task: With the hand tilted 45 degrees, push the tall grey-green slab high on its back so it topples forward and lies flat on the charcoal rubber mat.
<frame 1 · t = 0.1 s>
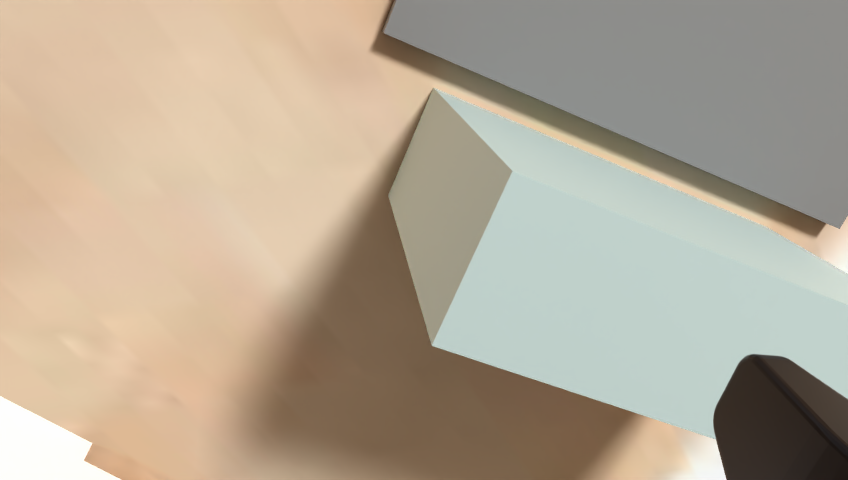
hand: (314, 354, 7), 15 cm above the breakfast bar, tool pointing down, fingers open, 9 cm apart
grey-green slab: (583, 210, 24), on the breakfast bar
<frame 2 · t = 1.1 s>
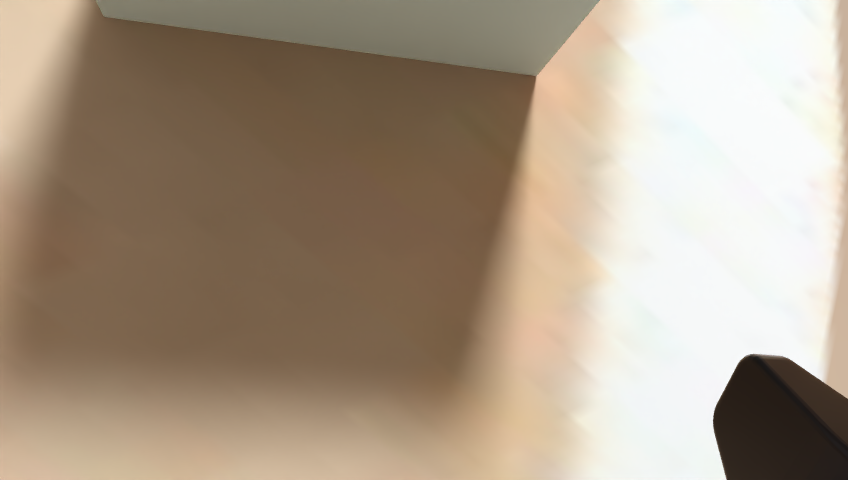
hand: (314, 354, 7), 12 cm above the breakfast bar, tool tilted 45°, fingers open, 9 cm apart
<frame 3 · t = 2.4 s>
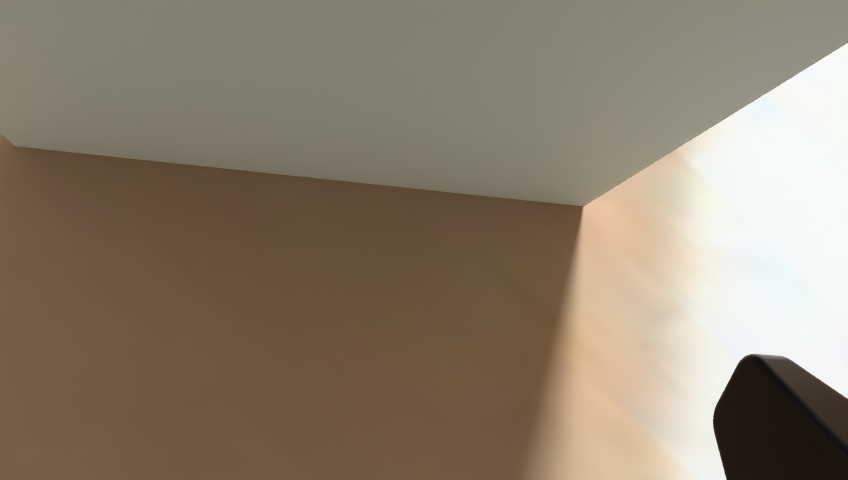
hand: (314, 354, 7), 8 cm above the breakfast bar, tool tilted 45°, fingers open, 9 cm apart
grey-green slab: (323, 101, 17), on the breakfast bar
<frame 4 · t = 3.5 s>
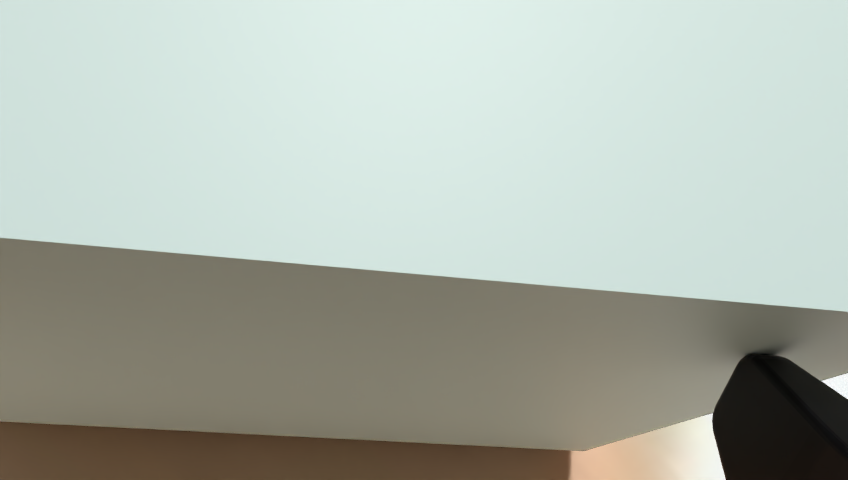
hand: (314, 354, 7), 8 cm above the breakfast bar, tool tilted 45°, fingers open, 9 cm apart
grey-green slab: (300, 348, 16), on the breakfast bar, tilted 10°
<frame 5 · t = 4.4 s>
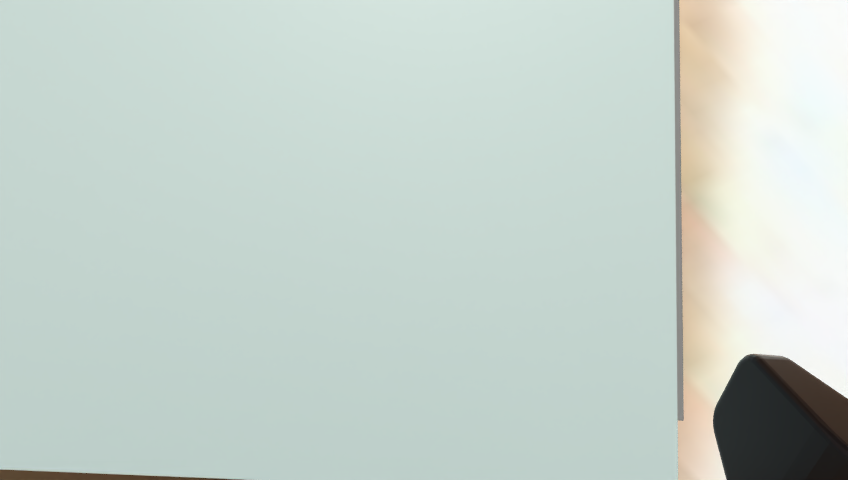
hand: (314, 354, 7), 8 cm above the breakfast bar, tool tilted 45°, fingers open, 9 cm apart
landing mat: (322, 114, 16), on the breakfast bar
grey-green slab: (291, 469, 13), point 2 cm above the breakfast bar, tilted 90°, touching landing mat
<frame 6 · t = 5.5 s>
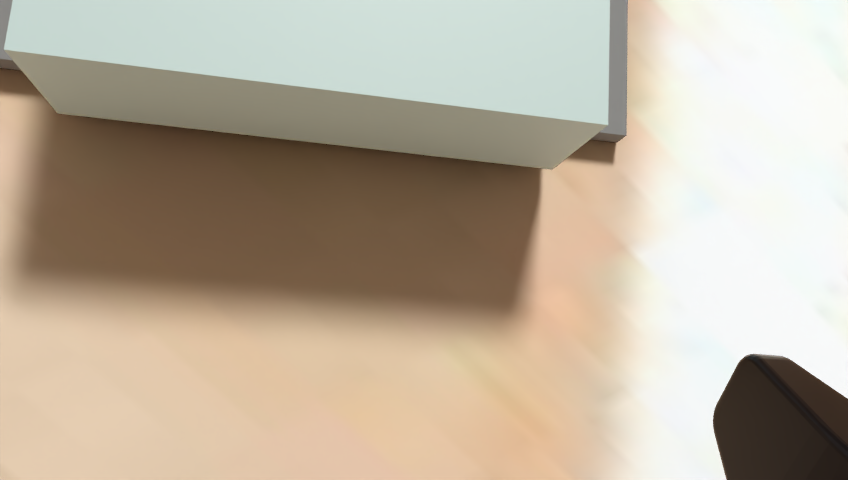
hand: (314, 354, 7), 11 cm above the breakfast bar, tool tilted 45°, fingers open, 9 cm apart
grey-green slab: (321, 119, 17), point 2 cm above the breakfast bar, tilted 90°, touching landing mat
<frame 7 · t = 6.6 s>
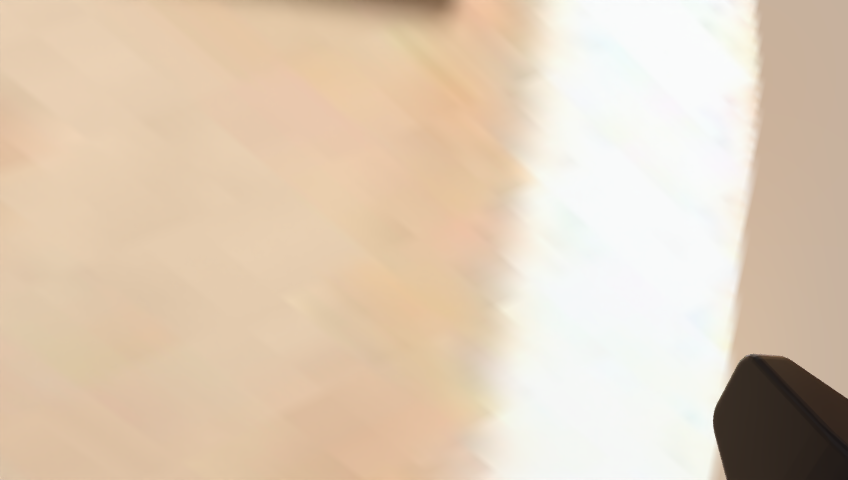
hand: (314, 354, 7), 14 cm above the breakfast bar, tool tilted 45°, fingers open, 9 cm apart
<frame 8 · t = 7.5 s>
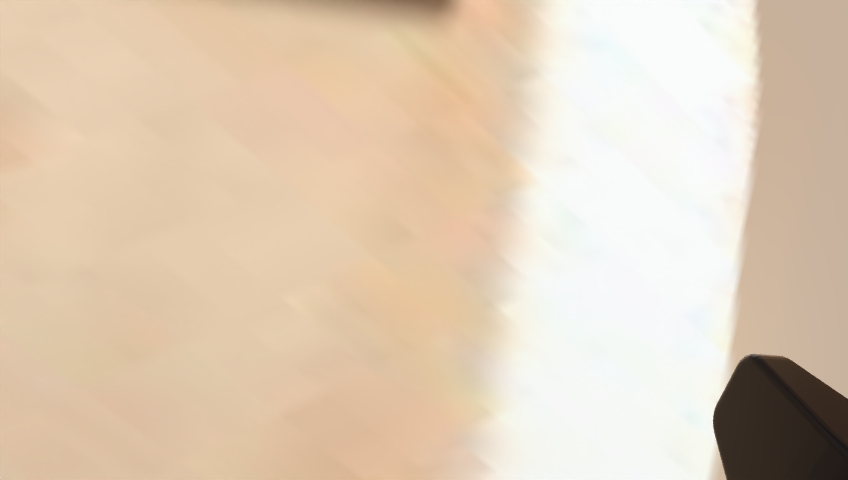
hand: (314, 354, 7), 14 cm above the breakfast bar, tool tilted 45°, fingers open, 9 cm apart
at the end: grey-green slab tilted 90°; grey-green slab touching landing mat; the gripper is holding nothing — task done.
